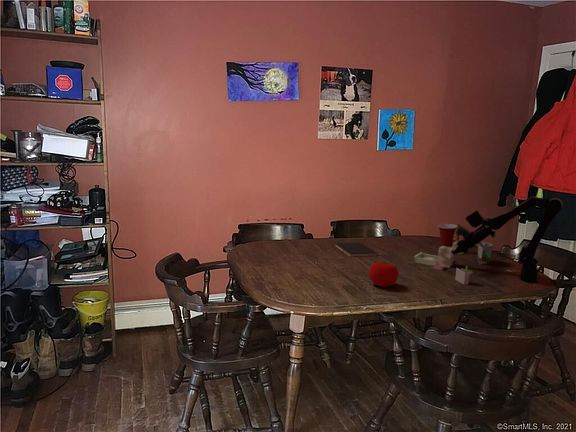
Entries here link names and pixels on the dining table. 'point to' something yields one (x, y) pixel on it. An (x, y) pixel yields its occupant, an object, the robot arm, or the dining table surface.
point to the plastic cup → (447, 233)
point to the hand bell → (456, 240)
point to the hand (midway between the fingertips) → (453, 253)
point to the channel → (420, 259)
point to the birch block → (444, 256)
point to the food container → (484, 252)
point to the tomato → (383, 273)
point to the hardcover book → (356, 249)
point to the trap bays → (439, 266)
